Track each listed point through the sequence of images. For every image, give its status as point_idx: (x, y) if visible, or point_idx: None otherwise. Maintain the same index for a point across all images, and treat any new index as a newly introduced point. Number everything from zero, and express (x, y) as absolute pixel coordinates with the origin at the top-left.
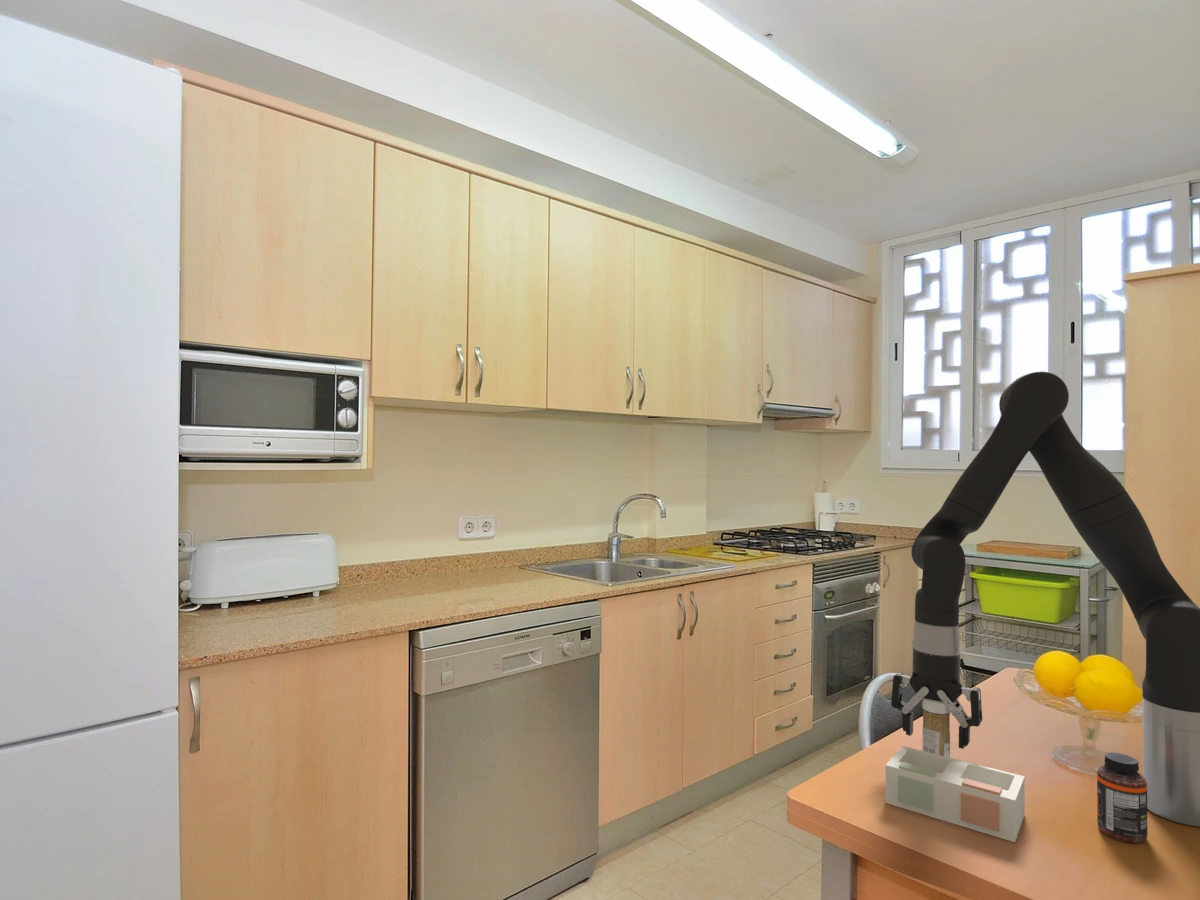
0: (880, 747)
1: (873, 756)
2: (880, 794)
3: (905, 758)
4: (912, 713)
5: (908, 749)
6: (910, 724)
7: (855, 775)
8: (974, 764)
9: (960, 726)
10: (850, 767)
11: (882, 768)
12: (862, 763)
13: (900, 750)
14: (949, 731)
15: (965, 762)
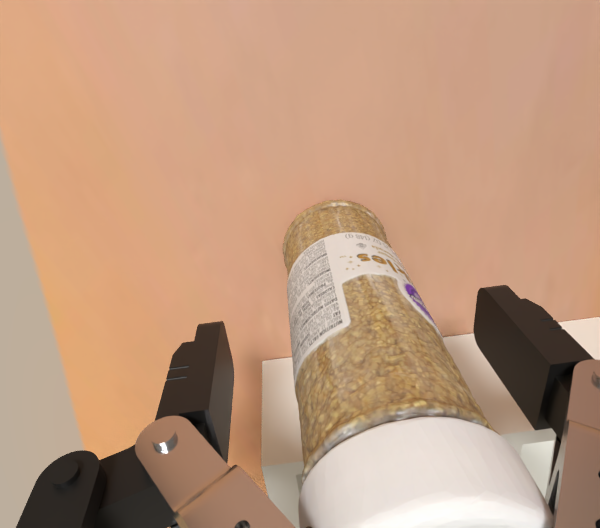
0: (14, 128)
1: (72, 252)
2: (256, 460)
3: (300, 490)
4: (213, 425)
5: (294, 477)
6: (228, 410)
7: (141, 420)
8: (544, 432)
9: (544, 419)
10: (92, 388)
11: (164, 323)
12: (93, 336)
13: (275, 502)
14: (443, 341)
15: (511, 439)
